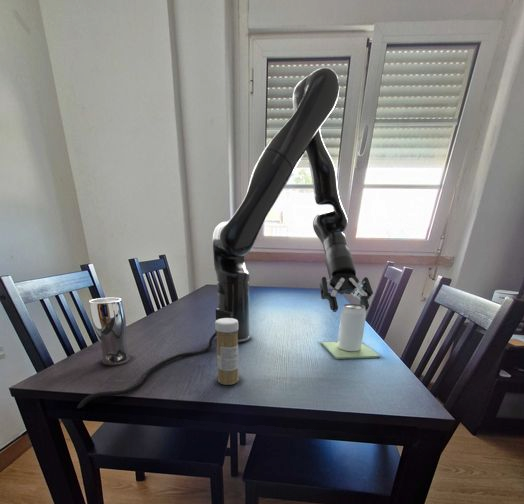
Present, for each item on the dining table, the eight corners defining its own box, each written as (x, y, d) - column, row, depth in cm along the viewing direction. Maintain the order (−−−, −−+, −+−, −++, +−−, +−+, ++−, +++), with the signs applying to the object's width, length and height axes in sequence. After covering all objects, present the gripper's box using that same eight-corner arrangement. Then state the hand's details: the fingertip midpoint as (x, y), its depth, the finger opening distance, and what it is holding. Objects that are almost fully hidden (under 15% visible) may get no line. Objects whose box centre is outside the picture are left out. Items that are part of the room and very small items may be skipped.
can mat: (336, 359, 73) (336, 357, 73) (321, 343, 84) (321, 341, 84) (379, 357, 74) (380, 355, 74) (359, 342, 85) (359, 340, 85)
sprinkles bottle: (219, 376, 62) (217, 317, 58) (240, 376, 62) (239, 317, 58) (216, 385, 58) (213, 323, 53) (238, 386, 58) (237, 323, 53)
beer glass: (96, 360, 69) (83, 299, 64) (125, 353, 74) (115, 296, 69) (107, 368, 65) (94, 304, 60) (136, 360, 70) (127, 300, 64)
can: (336, 350, 77) (341, 307, 73) (337, 343, 83) (342, 302, 79) (361, 353, 75) (367, 309, 71) (360, 345, 81) (366, 304, 77)
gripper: (320, 254, 79) (330, 303, 73) (367, 255, 81) (381, 302, 74) (312, 272, 86) (321, 317, 79) (357, 272, 88) (369, 317, 81)
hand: (350, 310), depth 77 cm, fingers open, 8 cm apart
